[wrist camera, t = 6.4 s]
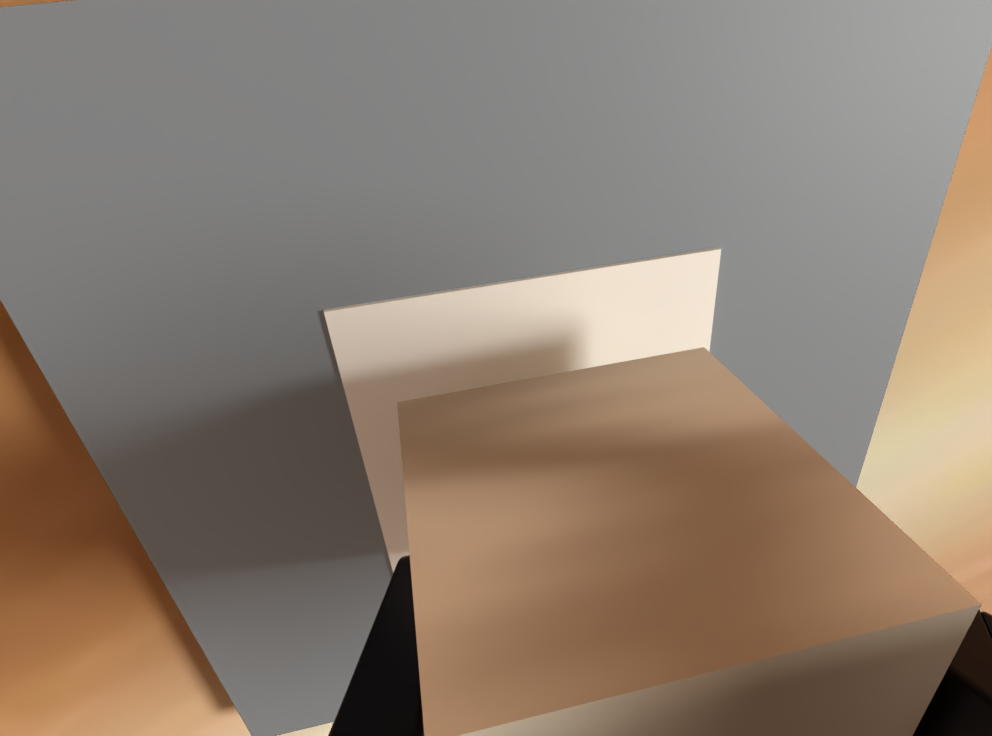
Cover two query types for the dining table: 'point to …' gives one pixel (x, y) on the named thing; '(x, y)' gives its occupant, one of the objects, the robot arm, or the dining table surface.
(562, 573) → the birch cube
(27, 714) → the dining table surface
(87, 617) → the dining table surface
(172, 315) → the slate board
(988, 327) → the dining table surface
